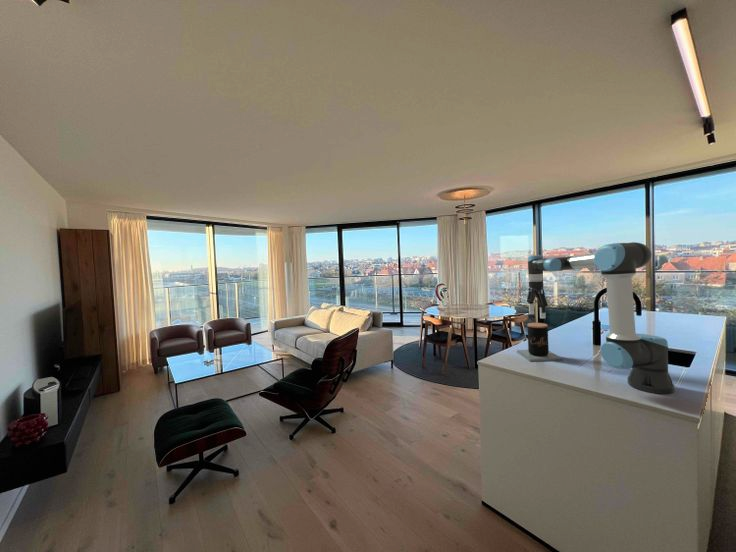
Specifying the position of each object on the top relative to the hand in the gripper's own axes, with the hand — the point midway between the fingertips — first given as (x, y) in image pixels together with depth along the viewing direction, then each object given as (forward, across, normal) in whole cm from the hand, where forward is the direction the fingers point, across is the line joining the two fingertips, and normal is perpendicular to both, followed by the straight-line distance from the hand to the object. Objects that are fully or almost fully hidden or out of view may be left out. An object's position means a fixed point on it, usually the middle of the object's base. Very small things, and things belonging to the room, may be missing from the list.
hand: (537, 316), depth 181 cm
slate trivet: (+24, 0, 0) cm, 24 cm away
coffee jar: (+23, 0, 0) cm, 23 cm away
